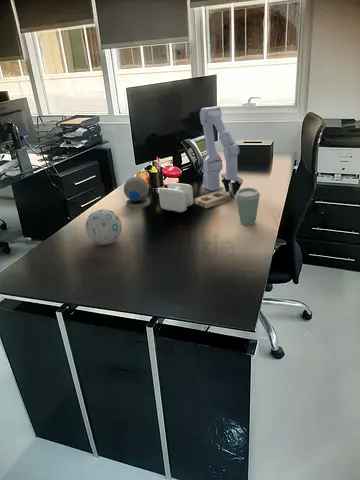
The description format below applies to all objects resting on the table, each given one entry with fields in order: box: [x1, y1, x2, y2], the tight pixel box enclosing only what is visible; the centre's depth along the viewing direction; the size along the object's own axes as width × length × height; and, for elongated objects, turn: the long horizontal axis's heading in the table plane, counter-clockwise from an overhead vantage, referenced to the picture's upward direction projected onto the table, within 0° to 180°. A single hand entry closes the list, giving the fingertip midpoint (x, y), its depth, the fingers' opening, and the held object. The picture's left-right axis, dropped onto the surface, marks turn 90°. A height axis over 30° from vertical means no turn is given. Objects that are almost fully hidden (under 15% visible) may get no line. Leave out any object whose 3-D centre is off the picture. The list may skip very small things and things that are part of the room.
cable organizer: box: [158, 181, 194, 213], centre depth 182 cm, size 15×11×12 cm
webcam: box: [123, 176, 151, 209], centre depth 190 cm, size 13×13×15 cm
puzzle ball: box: [85, 208, 123, 246], centre depth 153 cm, size 15×15×15 cm
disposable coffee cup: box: [235, 187, 261, 226], centre depth 160 cm, size 11×11×15 cm
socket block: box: [193, 190, 231, 209], centre depth 188 cm, size 10×16×2 cm, turn 125°
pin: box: [228, 181, 236, 199], centre depth 190 cm, size 3×3×8 cm
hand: (231, 193), depth 191 cm, fingers open, 6 cm apart
